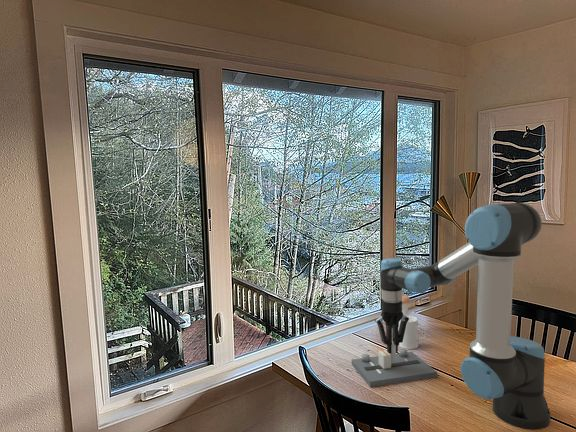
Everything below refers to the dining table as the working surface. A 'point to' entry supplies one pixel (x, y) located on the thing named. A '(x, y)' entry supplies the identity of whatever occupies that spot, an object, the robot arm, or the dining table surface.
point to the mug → (411, 334)
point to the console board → (393, 369)
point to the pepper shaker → (405, 304)
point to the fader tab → (384, 359)
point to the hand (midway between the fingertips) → (392, 360)
